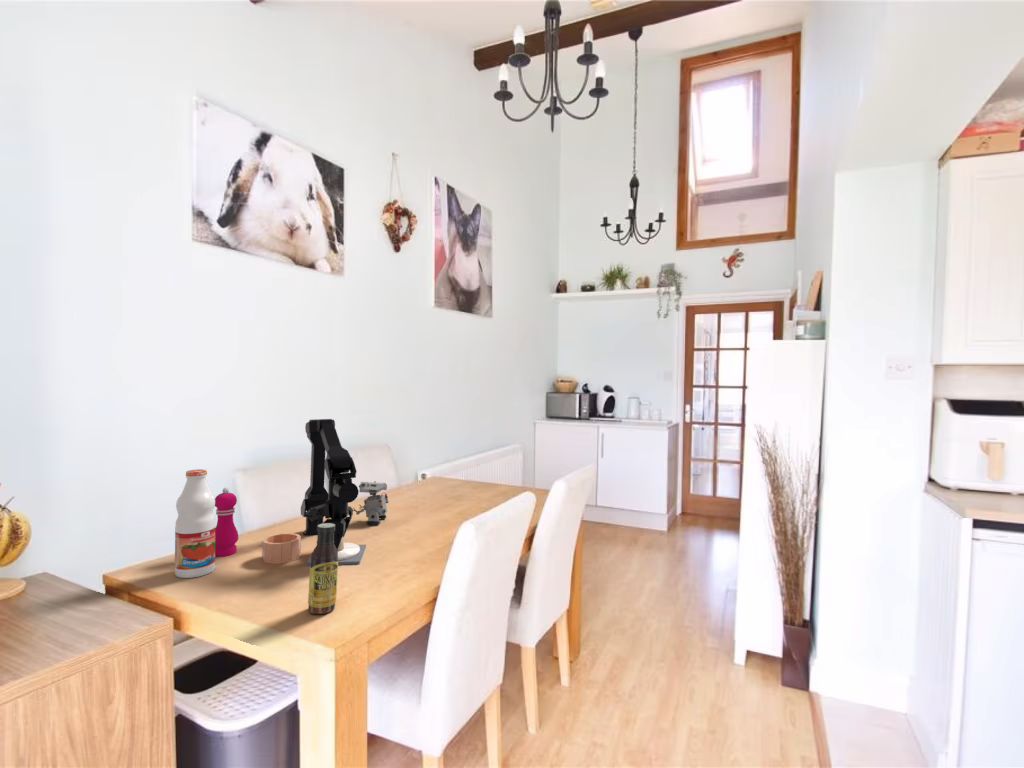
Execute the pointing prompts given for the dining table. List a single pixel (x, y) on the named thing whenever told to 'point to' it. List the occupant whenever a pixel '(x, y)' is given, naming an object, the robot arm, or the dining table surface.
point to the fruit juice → (195, 528)
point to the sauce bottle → (323, 572)
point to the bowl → (281, 548)
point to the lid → (347, 550)
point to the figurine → (374, 502)
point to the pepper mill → (225, 524)
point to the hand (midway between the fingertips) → (337, 546)
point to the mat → (348, 561)
